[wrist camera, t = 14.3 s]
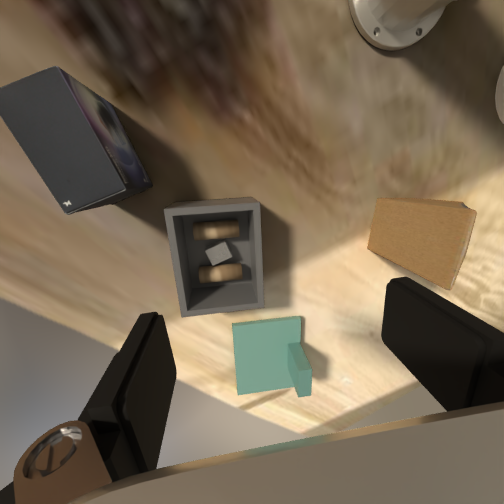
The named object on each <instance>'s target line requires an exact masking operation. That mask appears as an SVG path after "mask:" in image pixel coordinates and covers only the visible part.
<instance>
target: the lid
mask: <svg viewBox="0 0 504 504" xmlns="http://www.w3.org/2000/svg"><path fill="white" fill-rule="evenodd" d="M232 329H233V342H234V354H235V367H236V379H237V392H238V395H243V394H250V393H256V392H263V391H270V390H277V389H283V388H290V387H295V390H296V392H297V395H298V397H304V396H311V386H312V368H311V366H310V364H309V361H308V359H307V357H306V355H305V353H304V351H303V349H302V347H301V345H300V337H301V318H300V316H293V317H285V318H276V319H267V320H258V321H250V322H241V323H232Z"/></svg>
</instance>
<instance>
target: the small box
mask: <svg viewBox="0 0 504 504" xmlns="http://www.w3.org/2000/svg"><path fill="white" fill-rule="evenodd" d="M0 116H1V118H2V119H3V121H4V122H5V124H6V125H7V127H8V128H9V130H10V131H11V133H12V134H13V136H14V137H15V139H16V140H17V142H18V143H19V145H20V146H21V148H22V149H23V151H24V152H25V154H26V155H27V157H28V158H29V160H30V161H31V163H32V164H33V166H34V167H35V169H36V170H37V172H38V173H39V175H40V176H41V178H42V179H43V181H44V182H45V184H46V185H47V187H48V189H49V190H50V192H51V193H52V194H53V196H54V198H55V199H56V201H57V202H58V203H59V205H60V206H61V208H62V210H63V211H64V213H65V214H68V215H69V214H73V213H75V212H79V211H84V210H88V209H92V208H97V207H101V206H104V205H109V204H111V205H113V204H114V203H117V202H118V201H120V200H123V199H125V198H127V197H130V196H132V195H135V194H137V193H139V192H140V193H141V192H143V191H145V190H147V189H149V188H151V187H152V186H153V185H152V183H151V181H150V179H149V177H148V175H147V173H146V171H145V169H144V167H143V165H142V163H141V161H140V159H139V157H138V155H137V153H136V151H135V149H134V148H133V146H132V144H131V142H130V140H129V138H128V136H127V134H126V132H125V130H124V128H123V126H122V124H121V122H120V120H119V118H118V116H117V114H116V113H115V111H114V109H113V107H112V105H111V103H109V102H108V101H106V100H105V99H104V98H102V97H101V96H99V95H98V94H96V93H95V92H93V91H92V90H90V89H89V88H87V87H86V86H85V85H83V84H82V83H80V82H79V81H77V80H76V79H75V78H73V77H72V76H70V75H69V74H67V73H66V72H65V71H63V70H62V69H60V68H59V67H58V66H53V67H50V68H47V69H45V70H42V71H40V72H37V73H35V74H32V75H30V76H27V77H24V78H22V79H20V80H18V81H15V82H13V83H10V84H8V85H5V86H3V87H0Z"/></svg>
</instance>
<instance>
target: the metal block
mask: <svg viewBox="0 0 504 504" xmlns="http://www.w3.org/2000/svg"><path fill="white" fill-rule="evenodd" d="M205 252H206V254H207V256H208V258H209V260H210V262H211V263H212V265H216V264H218V263H220V262H222V261H224V260H227V259H229V258H231V257H232V252H231V250H230V248H229V246H228V244H227V242H226V240H225V238H224V239H222V240H219V241H217V242H215V243H213V244H211V245H208V246H206V247H205Z"/></svg>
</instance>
